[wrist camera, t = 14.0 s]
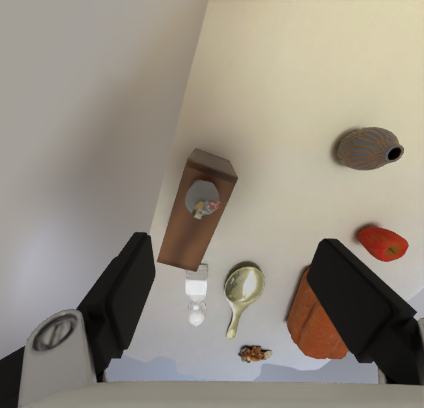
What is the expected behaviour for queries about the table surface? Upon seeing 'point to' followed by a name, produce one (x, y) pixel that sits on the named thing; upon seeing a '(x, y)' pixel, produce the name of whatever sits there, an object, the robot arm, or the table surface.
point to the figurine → (202, 198)
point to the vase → (369, 149)
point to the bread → (313, 326)
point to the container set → (196, 294)
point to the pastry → (254, 354)
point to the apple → (383, 243)
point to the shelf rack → (182, 218)
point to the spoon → (242, 293)
